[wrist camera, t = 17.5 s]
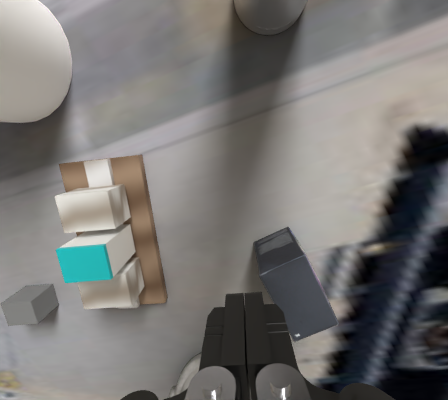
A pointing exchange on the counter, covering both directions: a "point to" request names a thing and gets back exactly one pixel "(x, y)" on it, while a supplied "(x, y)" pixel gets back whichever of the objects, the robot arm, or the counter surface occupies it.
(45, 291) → the grey block
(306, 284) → the small box
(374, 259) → the counter surface
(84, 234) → the block
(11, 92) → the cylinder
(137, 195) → the board
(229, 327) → the robot arm
